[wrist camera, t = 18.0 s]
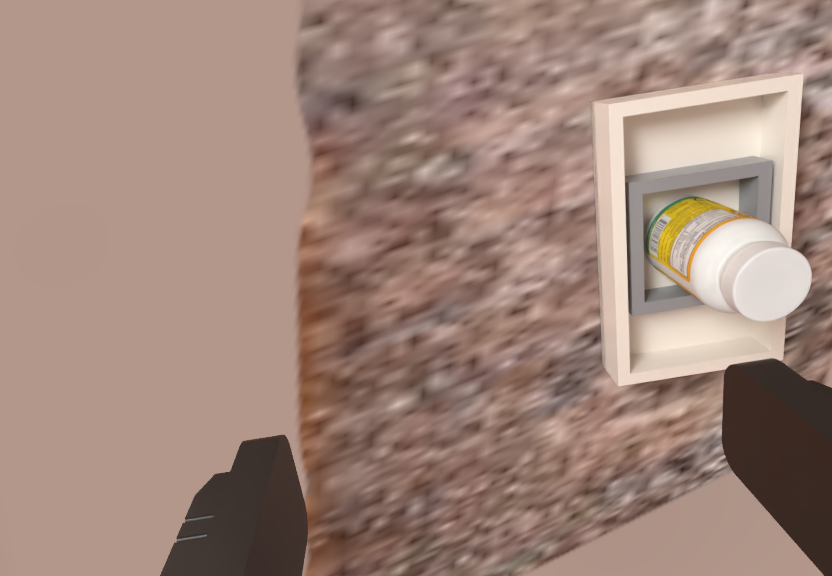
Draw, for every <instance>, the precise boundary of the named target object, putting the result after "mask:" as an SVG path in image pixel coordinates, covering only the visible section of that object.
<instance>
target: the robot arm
mask: <svg viewBox="0 0 832 576" xmlns="http://www.w3.org/2000/svg"><path fill="white" fill-rule="evenodd" d="M722 444H723V449H724V453H725V456H726V459H727V461H728V463H729V465H730V467H731V469H732V470H733V472H734V473H735V474H736V476H737V477H738V478H739V479H740V480H741V481H742V482H743V484H744V485H745V486H746V487H747V488H748V489H749V490H750V491H751V493H752V494H753V495H754V496H755V497H756V498H757V499H758V501H759V502H760V503H761V504H762V505H763V506H764V508H766V510H767V511H768V512H769V513H770V514H771V515H772V517H773V518H774V519H775V520H776V521H777V522H778V523H779V525H780V526H781V527H782V528H783V529H784V530H785V531H786V533H787V534H788V535H789V536H790V537H791V538H792V539H793V540H794V542H795V543H796V544H797V545H798V546H799V547H800V548H801V550H802V551H803V552H804V553H805V554H806V555H807V556H808V557H809V559H810V560H811V561H812V562H813V563H814V564H815V565H816V567H817V568H818V569H819V570H820V571H821V572H822V573H823V575H824V576H832V388H830V387H828V386H825V385H823V384H820V383H818V382H815V381H812V380H811V381H807V380H806V379H804V378H803V377H801V376H800V375H799V374H797V373H796V372H795V371H793V370H792V369H790V368H789V367H788V366H786V365H785V364H784V363H782V362H781V361H779V360H778V359H775V358H769V359H763V360H756V361H750V362H744V363H738V364H732V365H729V366H728V367H727V368H726V371H725V374H724V390H723V420H722ZM307 537H308V523H307V512H306V506H305V502H304V498H303V494H302V490H301V486H300V482H299V479H298V475H297V471H296V467H295V463H294V460H293V456H292V452H291V448H290V445H289V442H288V439H287V437H286V436H285V435H278V436H272V437H266V438H259V439H253V440H247V441H243V442H242V443H241V445H240V447H239V450H238V453H237V455H236V458H235V460H234V463H233V466H232V469H231V471H230V472H225V473H219V474H215V475H214V476H213V477H212V478H211V479H210V480H209V481H208V482H207V483H206V485H204V487H203V488H202V489H201V490H200V491H199V492H198V493H197V494H196V495H195V497H194V499H193V501H192V504H191V506H190V508H189V510H188V513H187V515H186V517H185V523H183V524H182V527H181V529H180V531H179V534H178V536H177V543H174V545H173V547H172V549H171V552H170V554H169V556H168V559H167V561H166V563H165V566H164V568H163V571H162V572H161V575H160V576H302V571H303V564H304V558H305V552H306V545H307Z"/></svg>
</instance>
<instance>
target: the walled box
mask: <svg viewBox="0 0 832 576" xmlns="http://www.w3.org/2000/svg"><path fill="white" fill-rule="evenodd" d="M802 87H803V74H799V73H769V74H763V75H757V76H750V77H744V78H738V79H731V80H725V81H719V82H712V83H706V84H700V85H693V86H687V87H681V88H674V89H668V90H662V91H655V92H649V93H643V94H636V95H630V96H624V97H617V98H611V99H605V100H598V101H592V102H591V119H592V141H593V163H594V185H595V207H596V229H597V251H598V273H599V295H600V318H601V340H602V362H603V367H604V368H605V369H606V371H607V372H608V373H609V375H610V376H611V377H612V379H613V380H614V381H615V382H616V384H617V385H618V386H624V385H630V384H637V383H643V382H649V381H656V380H662V379H668V378H674V377H681V376H687V375H693V374H700V373H706V372H712V371H718V370H725V369H726V368H727V367H728V366H729V365H732V364H738V363H744V362H750V361H756V360H763V359H769V358H775V359H778V360H779V361H781V360H783V355H784V341H785V327H786V316H784V317H782V318H780V319H778V320H774V321H768V322H759V321H754V320H750V319H748V318H746V317H745V316H743V315H741V314H740V313H736V314H731V313H723V312H719V311H716V310H714V309H712V308H710V307H708V306H706V305H705V304H703V303H702V302H701V301H699V300H698V299H697V298H695V297H694V296H693V295H691V294H690V293H689V292H687V291H686V290H685V289H683V288H682V287H680V286H679V285H678V284H676V283H675V282H674V281H672V280H671V279H669V278H668V277H666V276H665V275H664V274H663V273H661V272H660V271H658V270H657V269H656V268H655V267H654V266H653V265H652V264H651V263H650V262H649V260H648V258H647V257H646V254H645V251H644V242H643V239H644V232H645V229H646V226H647V224H648V222H649V220H650V219H651V217H652V216H653V214H654V213H655V212H656V211H657V210H658V209H659V208H660V207H661V206H663V205H664V204H666V203H667V202H669V201H671V200H673V199H675V198H678V197H681V196H698V197H702V198H705V199H708V200H711V201H714V202H716V203H719V204H721V205H724V206H726V207H729V208H731V209H734V210H737V211H739V212H742V213H744V214H747V215H749V216H752V217H754V218H757V219H759V220H762V221H764V222H766V223H768V224H770V225H772V226H773V227H775V228H776V229H777V230H779V231H780V232H781V234H782V235H783V236H784V237H785V239H786V241H787V243H788V245H789V247H791V242H792V228H793V214H794V200H795V186H796V172H797V158H798V143H799V129H800V115H801V101H802Z"/></svg>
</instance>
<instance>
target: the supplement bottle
mask: <svg viewBox="0 0 832 576" xmlns="http://www.w3.org/2000/svg"><path fill="white" fill-rule="evenodd" d="M643 242H644V251H645V254H646V257H647V258H648V260H649V262H650V263H651V264H652V265H653V266H654V267H655V268H656V269H657V270H658V271H660V272H661V273H663V274H664V275H665V276H666V277H668V278H669V279H671V280H672V281H674V282H675V283H676V284H678V285H679V286H680V287H682V288H683V289H685V290H686V291H687V292H689V293H690V294H691V295H693V296H694V297H695V298H697V299H698V300H699V301H701V302H702V303H703V304H705V305H706V306H708V307H710V308H712V309H714V310H716V311H719V312H723V313H731V314H736V313H740V314H741V315H743V316H745V317H746V318H748V319H750V320H754V321H759V322H768V321H774V320H778V319H780V318H782V317H784V316H786V315H788V314H790V313H791V312H792V311H794V310H795V309H796V308H797V307H798V306H799V305H800V304H801V303H802V302H803V300H804V299H805V297H806V296H807V294H808V291H809V289H810V286H811V281H812V272H811V267H810V265H809V263H808V261H807V259H806V258H805V257H804V256H803V255H802V254H801V253H800V252H798V251H796V250H795V249H793V248H791V247H789V245H788V243H787V241H786V239H785V237H784V236H783V235H782V234H781V232H780V231H779V230H777V229H776V228H775V227H773V226H772V225H770V224H768V223H766V222H764V221H762V220H759V219H757V218H754V217H752V216H749V215H747V214H744V213H742V212H739V211H737V210H734V209H731V208H729V207H726V206H724V205H721V204H719V203H716V202H714V201H711V200H708V199H705V198H702V197H698V196H681V197H678V198H675V199H673V200H671V201H669V202H667V203H666V204H664V205H663V206H661V207H660V208H659V209H658V210H657V211H656V212H655V213H654V214H653V216H652V217H651V219H650V220H649V222H648V224H647V226H646V229H645V232H644V239H643Z"/></svg>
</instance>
